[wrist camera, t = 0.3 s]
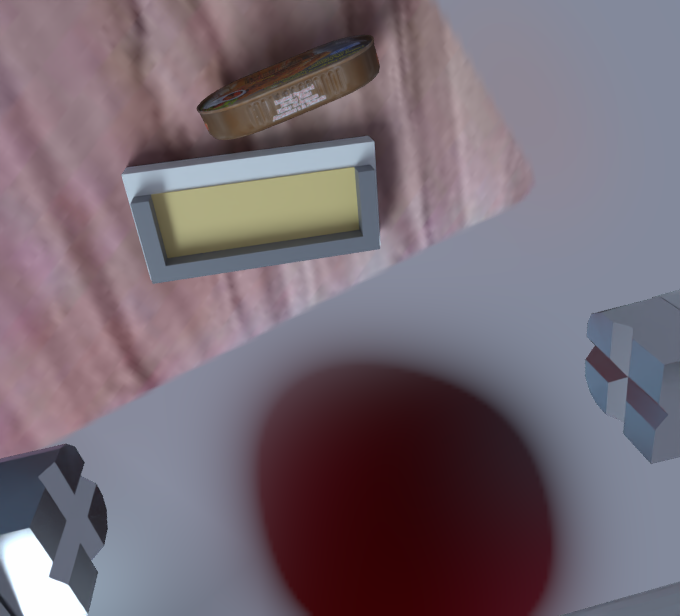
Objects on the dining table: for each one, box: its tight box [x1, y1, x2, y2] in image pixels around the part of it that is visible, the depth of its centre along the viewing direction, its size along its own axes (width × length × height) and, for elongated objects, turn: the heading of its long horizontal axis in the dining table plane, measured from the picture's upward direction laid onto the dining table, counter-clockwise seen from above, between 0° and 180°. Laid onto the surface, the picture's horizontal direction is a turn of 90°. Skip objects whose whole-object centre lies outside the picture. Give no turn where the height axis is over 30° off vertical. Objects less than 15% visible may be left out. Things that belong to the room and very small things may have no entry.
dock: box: [122, 136, 380, 284], centre depth 52 cm, size 10×22×4 cm, turn 95°
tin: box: [197, 35, 380, 140], centre depth 46 cm, size 15×3×8 cm, turn 109°
